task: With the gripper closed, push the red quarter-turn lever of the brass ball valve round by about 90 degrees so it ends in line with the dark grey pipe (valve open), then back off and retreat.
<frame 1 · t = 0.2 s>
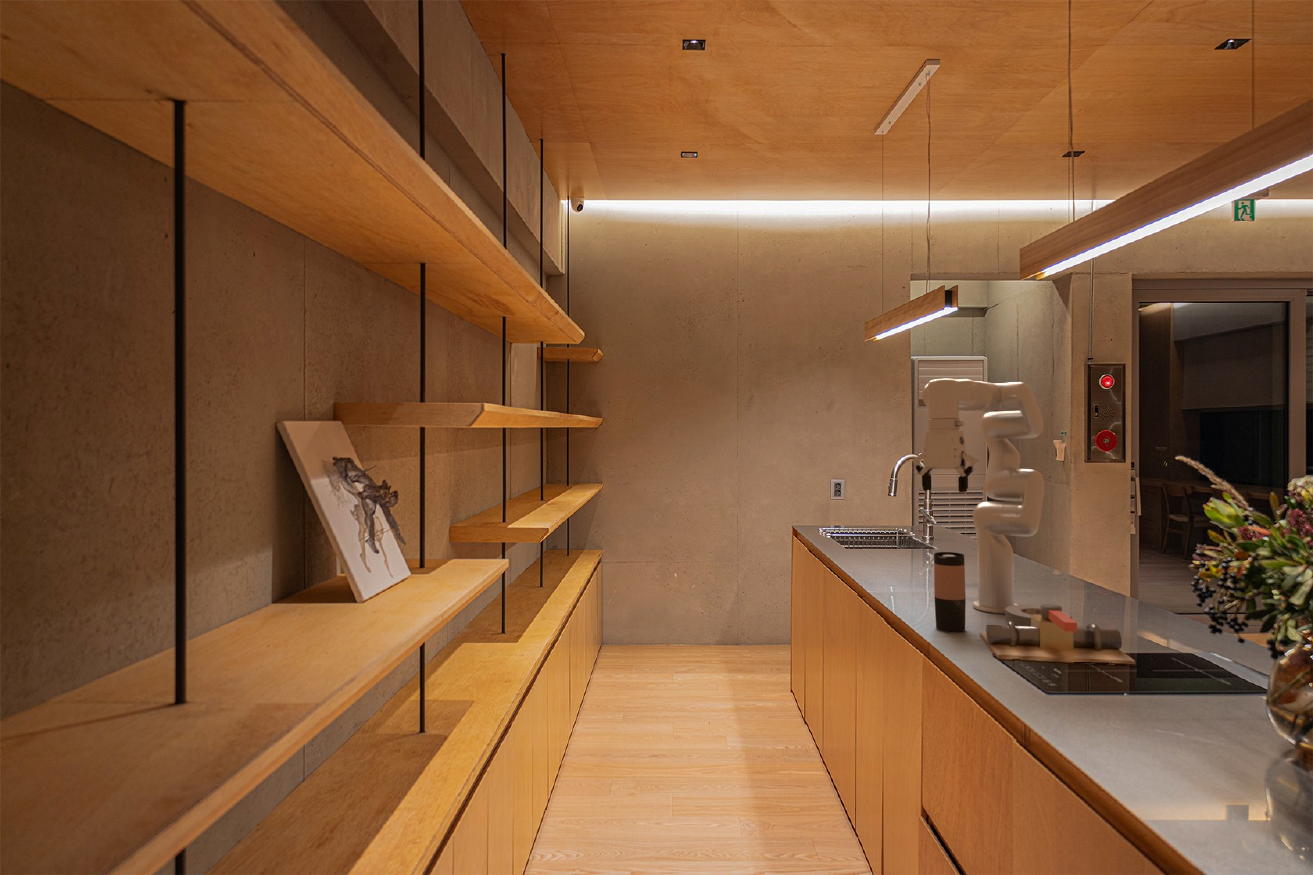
hand: (944, 491, 182), 37 cm above the worktop, tool pointing down, fingers open, 9 cm apart
tape roll: (1037, 631, 182), on the worktop
mount board: (1052, 649, 165), on the worktop
travel mug: (950, 629, 184), on the worktop
lever: (1058, 617, 160), point 9 cm above the worktop, hinge at 0.0°
valve: (1052, 649, 165), resting on mount board
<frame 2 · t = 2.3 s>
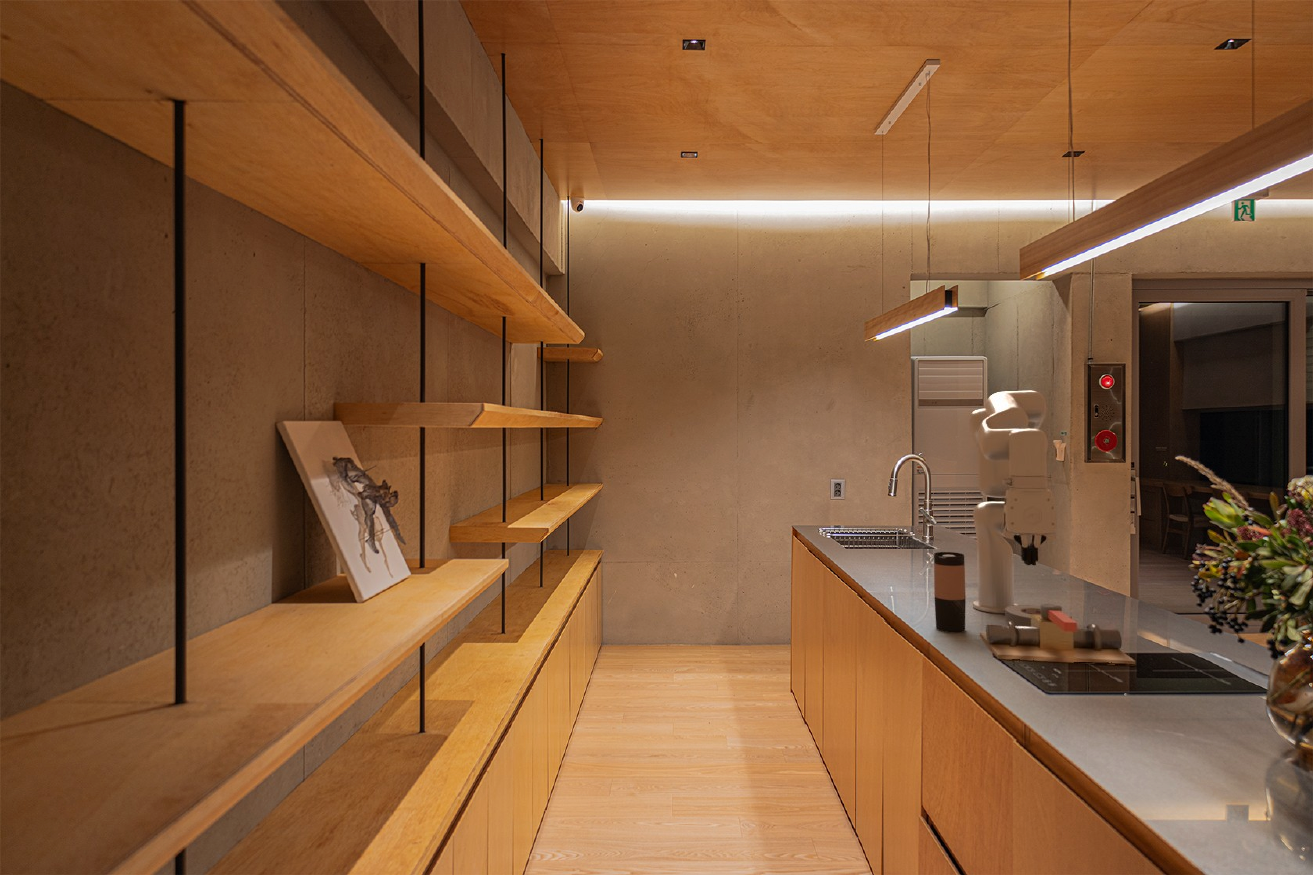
hand: (1029, 564, 157), 22 cm above the worktop, tool pointing down, fingers closed
nothing on the worktop moved.
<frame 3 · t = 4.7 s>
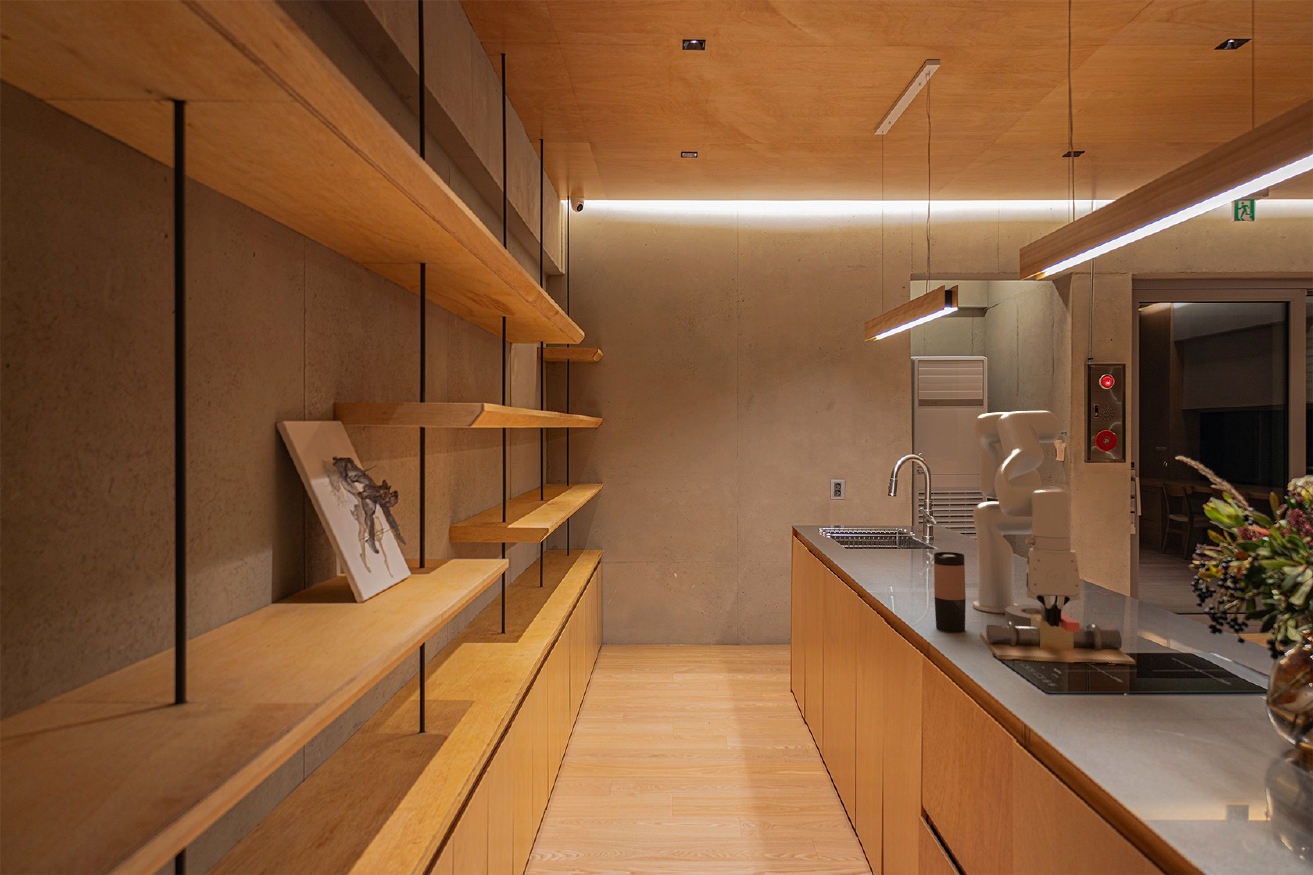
hand: (1053, 624, 156), 8 cm above the worktop, tool pointing down, fingers closed
lever: (1060, 617, 160), point 9 cm above the worktop, hinge at 2.5°, touching gripper
everything else where it was.
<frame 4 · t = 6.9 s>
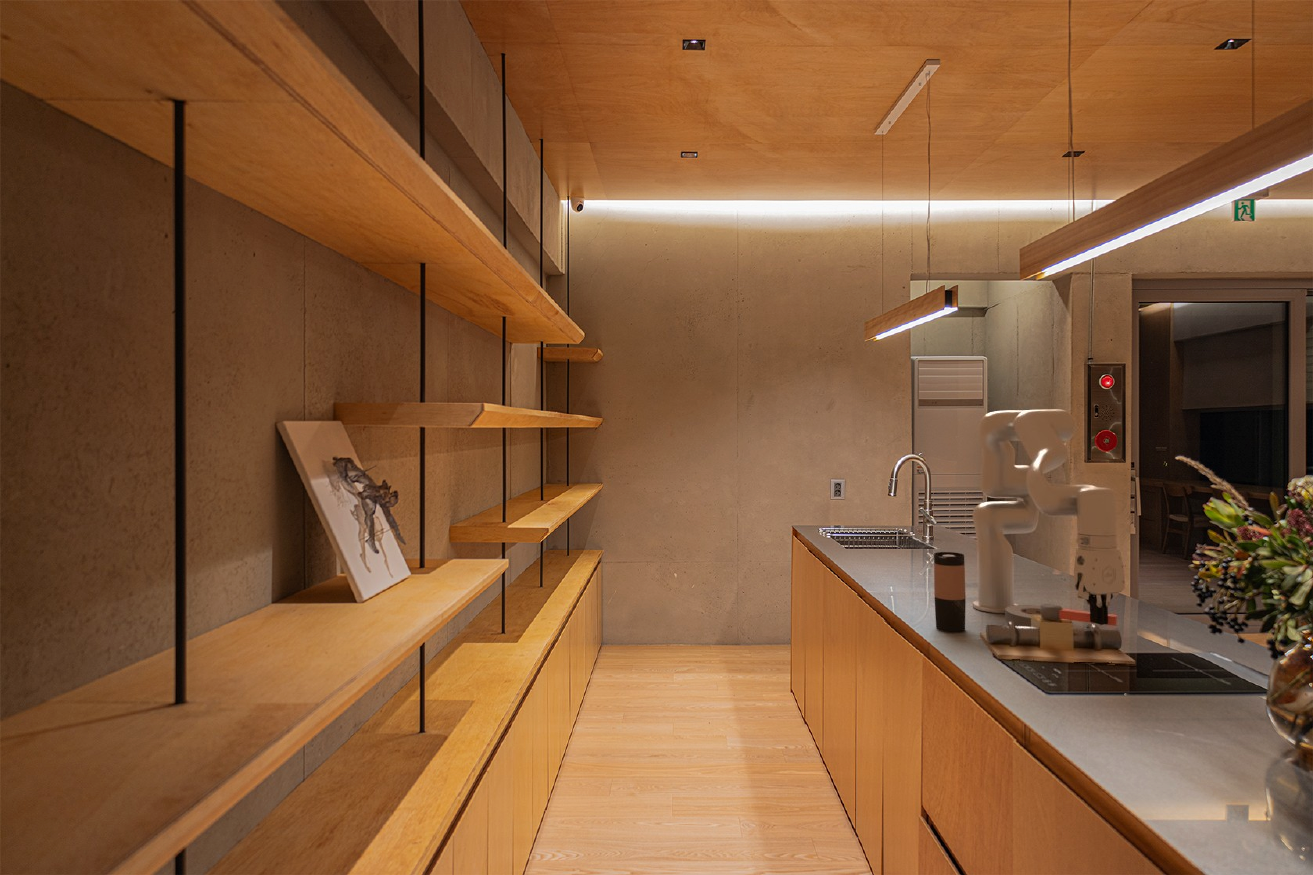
hand: (1099, 622, 156), 9 cm above the worktop, tool pointing down, fingers closed
lever: (1077, 615, 162), point 9 cm above the worktop, hinge at 64.8°, touching gripper
everything else where it was.
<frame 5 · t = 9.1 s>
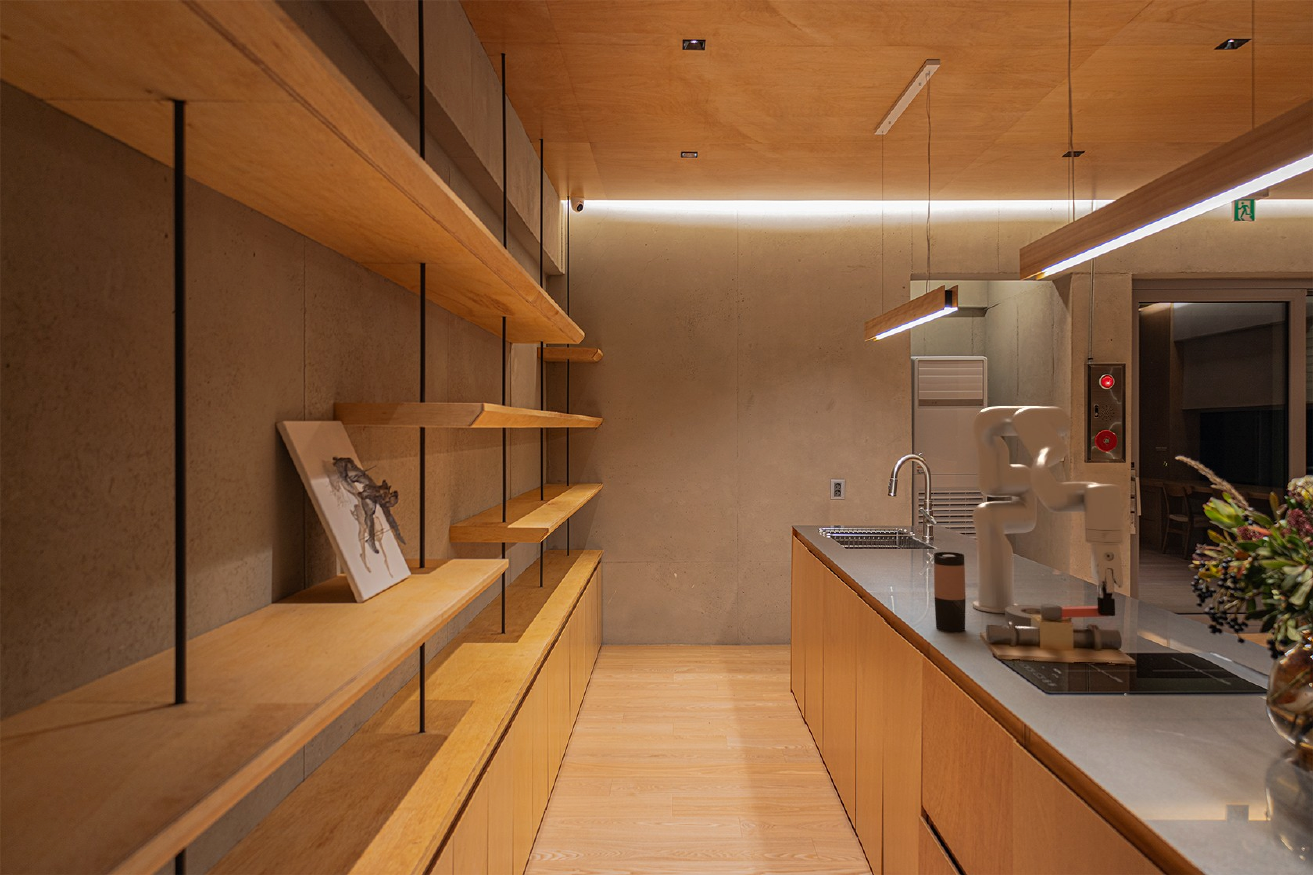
hand: (1106, 614, 162), 9 cm above the worktop, tool pointing down, fingers closed
lever: (1073, 611, 165), point 9 cm above the worktop, hinge at 103.8°
everything else where it was.
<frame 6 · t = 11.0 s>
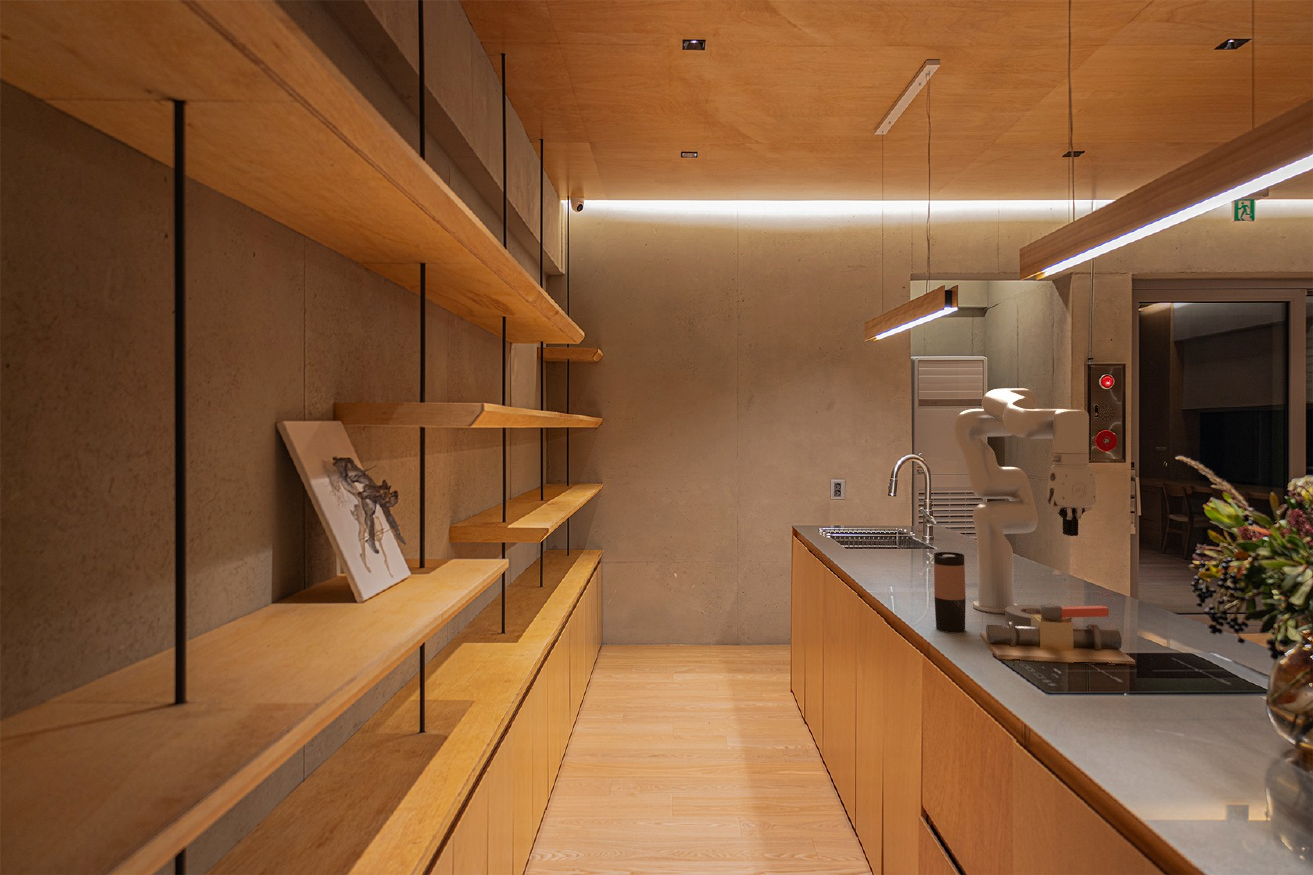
hand: (1070, 534, 169), 27 cm above the worktop, tool pointing down, fingers closed
nothing on the worktop moved.
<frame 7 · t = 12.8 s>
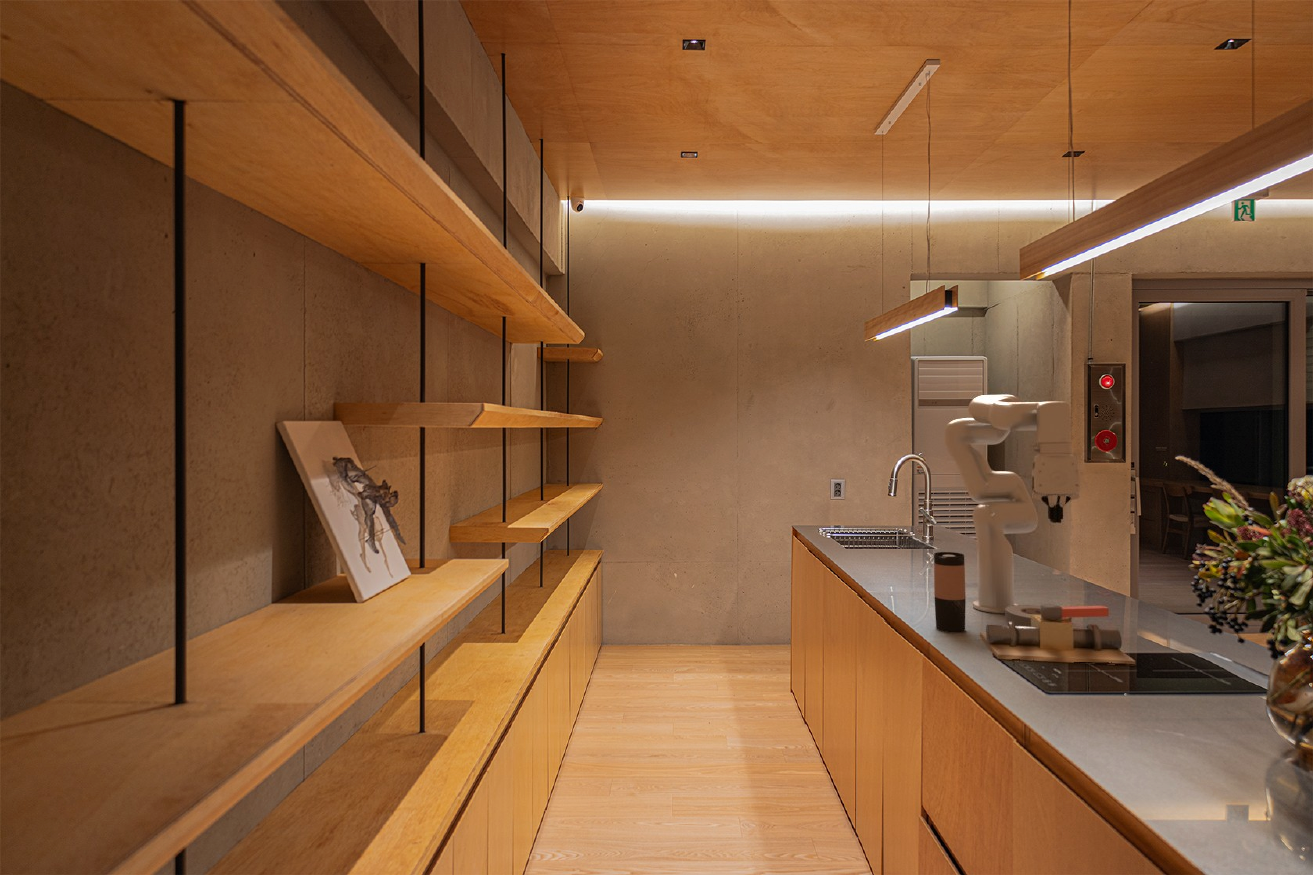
hand: (1055, 522, 176), 29 cm above the worktop, tool pointing down, fingers closed
nothing on the worktop moved.
at the end: lever at +104° (first picture: +0°) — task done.
